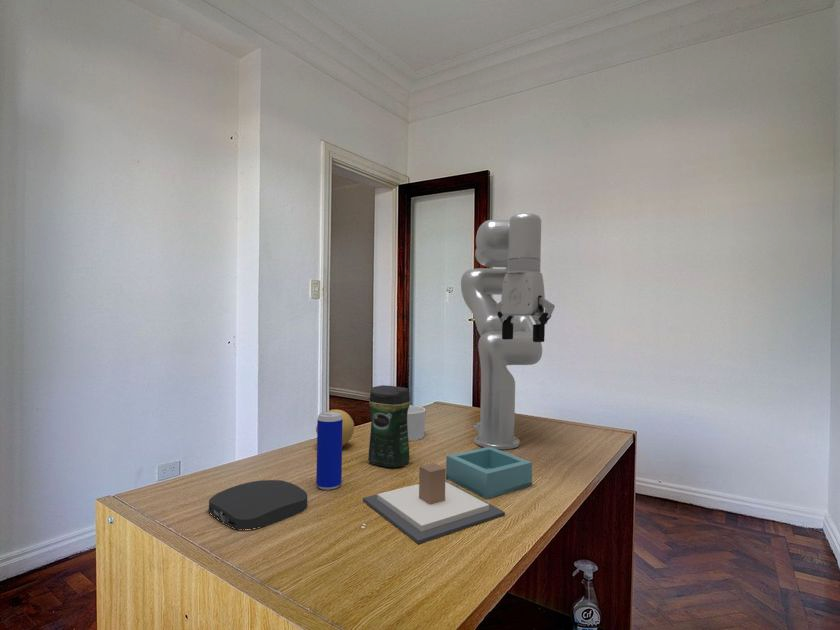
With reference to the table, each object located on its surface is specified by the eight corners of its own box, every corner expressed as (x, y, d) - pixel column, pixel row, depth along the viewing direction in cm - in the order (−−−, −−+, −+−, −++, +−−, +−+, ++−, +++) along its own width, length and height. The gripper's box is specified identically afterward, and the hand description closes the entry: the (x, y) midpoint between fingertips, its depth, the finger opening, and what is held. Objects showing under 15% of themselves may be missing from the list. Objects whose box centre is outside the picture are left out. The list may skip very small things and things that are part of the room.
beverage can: (345, 483, 95) (347, 412, 95) (333, 492, 91) (334, 417, 90) (324, 479, 97) (325, 410, 97) (311, 488, 92) (312, 415, 92)
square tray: (446, 478, 99) (446, 455, 99) (489, 467, 107) (489, 446, 107) (486, 499, 89) (486, 473, 88) (531, 485, 96) (532, 462, 96)
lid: (377, 499, 86) (377, 462, 86) (439, 483, 95) (440, 450, 95) (421, 531, 74) (422, 489, 74) (489, 510, 82) (489, 472, 82)
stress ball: (346, 456, 116) (367, 426, 122) (322, 431, 112) (345, 401, 118) (325, 453, 123) (346, 425, 129) (302, 429, 119) (325, 401, 125)
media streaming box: (316, 508, 84) (316, 492, 84) (241, 538, 73) (242, 519, 73) (272, 487, 93) (272, 473, 93) (200, 510, 82) (201, 494, 82)
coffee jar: (414, 461, 110) (415, 385, 110) (397, 471, 103) (398, 390, 103) (381, 454, 115) (382, 382, 115) (362, 463, 108) (364, 386, 108)
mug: (425, 442, 127) (425, 413, 127) (387, 441, 127) (388, 412, 127) (425, 429, 140) (425, 403, 140) (391, 428, 140) (392, 403, 140)
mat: (362, 501, 87) (362, 498, 87) (441, 481, 97) (441, 478, 97) (418, 544, 71) (418, 540, 71) (504, 515, 82) (504, 511, 82)
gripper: (486, 269, 111) (485, 338, 111) (542, 263, 96) (540, 343, 97) (508, 271, 115) (507, 338, 115) (564, 266, 101) (563, 342, 101)
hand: (522, 340), depth 106 cm, fingers open, 9 cm apart
